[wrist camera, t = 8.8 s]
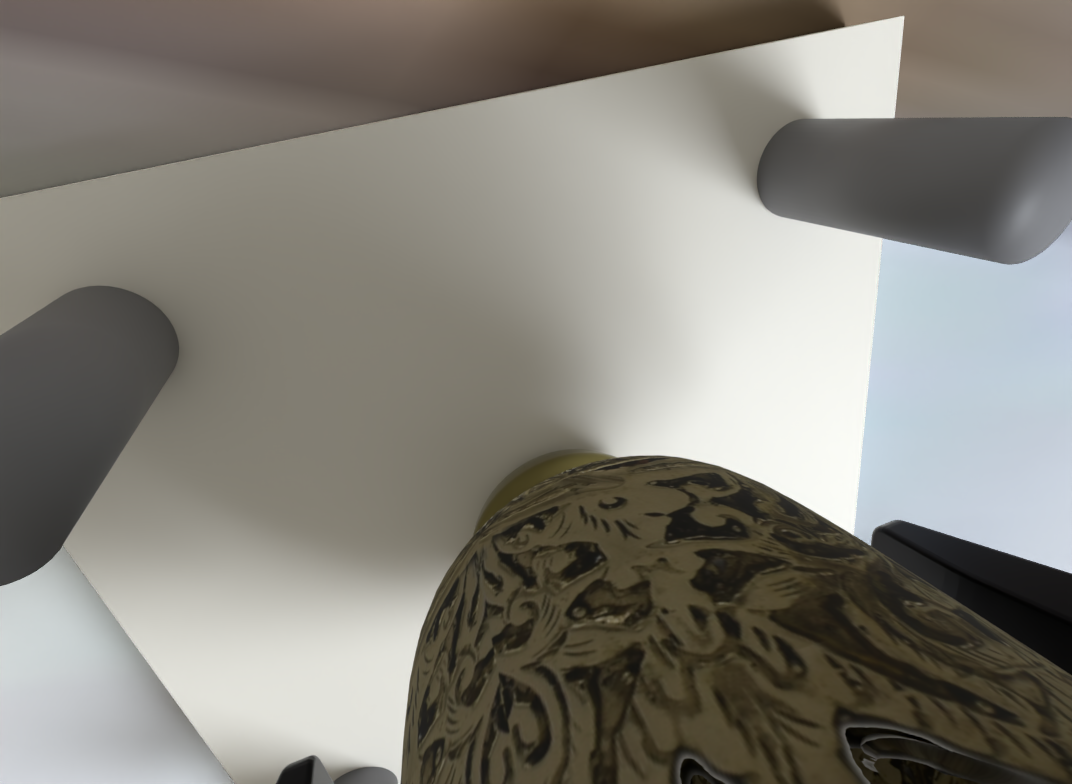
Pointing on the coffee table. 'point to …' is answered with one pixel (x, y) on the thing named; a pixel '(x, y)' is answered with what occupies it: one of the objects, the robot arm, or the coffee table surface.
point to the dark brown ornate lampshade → (709, 646)
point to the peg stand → (458, 349)
